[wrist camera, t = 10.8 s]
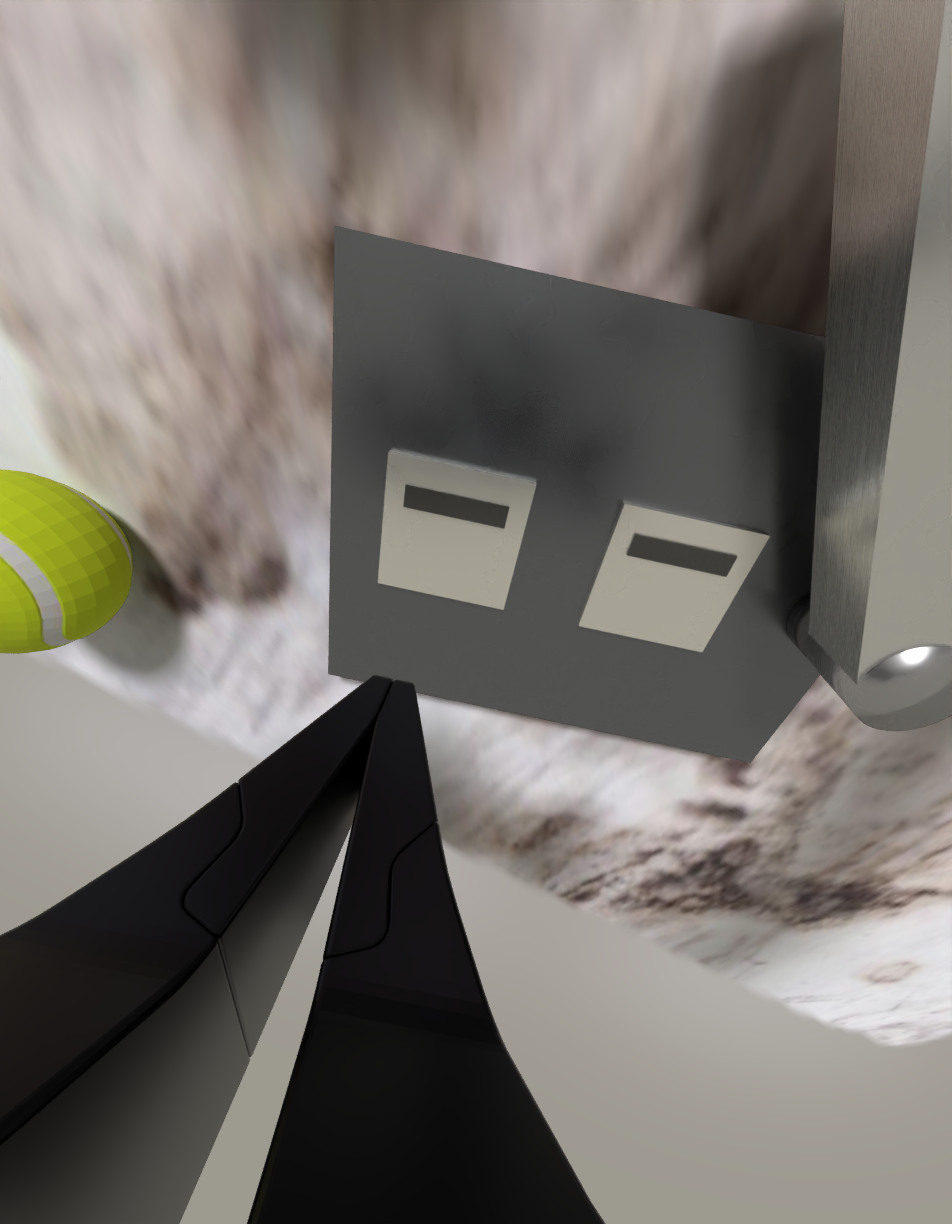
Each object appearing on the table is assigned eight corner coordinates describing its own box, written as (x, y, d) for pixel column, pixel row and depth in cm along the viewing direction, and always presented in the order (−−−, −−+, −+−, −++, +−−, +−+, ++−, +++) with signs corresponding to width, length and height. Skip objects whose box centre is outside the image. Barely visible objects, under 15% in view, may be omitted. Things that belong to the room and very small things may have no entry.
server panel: (1017, 387, 14) (1106, 396, 12) (749, 740, 22) (773, 783, 20) (353, 235, 13) (320, 217, 11) (339, 654, 22) (319, 688, 20)
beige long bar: (903, 664, 16) (969, 722, 14) (802, 680, 17) (848, 737, 14) (1126, -497, 6) (1506, -1025, 4) (857, -330, 7) (1031, -678, 5)
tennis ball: (19, 414, 17) (-233, 453, 12) (188, 514, 19) (40, 592, 13) (8, 544, 20) (-193, 625, 15) (153, 621, 22) (22, 721, 16)
